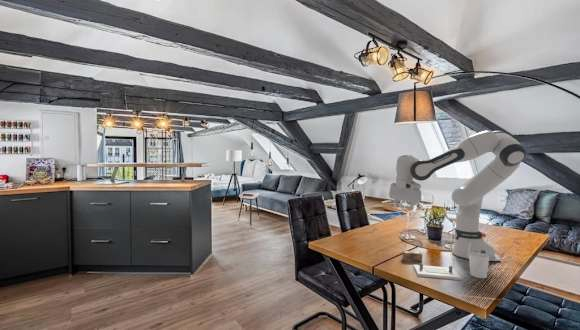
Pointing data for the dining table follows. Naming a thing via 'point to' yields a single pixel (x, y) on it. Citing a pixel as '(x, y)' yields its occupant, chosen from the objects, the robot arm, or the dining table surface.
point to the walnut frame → (412, 256)
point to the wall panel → (436, 272)
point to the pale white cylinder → (478, 264)
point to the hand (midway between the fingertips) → (403, 208)
